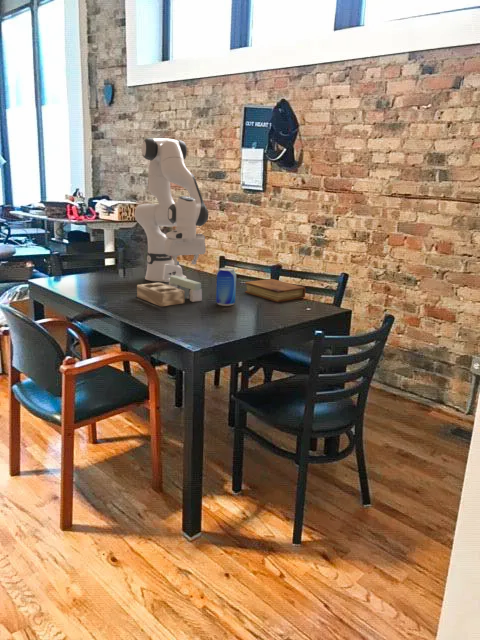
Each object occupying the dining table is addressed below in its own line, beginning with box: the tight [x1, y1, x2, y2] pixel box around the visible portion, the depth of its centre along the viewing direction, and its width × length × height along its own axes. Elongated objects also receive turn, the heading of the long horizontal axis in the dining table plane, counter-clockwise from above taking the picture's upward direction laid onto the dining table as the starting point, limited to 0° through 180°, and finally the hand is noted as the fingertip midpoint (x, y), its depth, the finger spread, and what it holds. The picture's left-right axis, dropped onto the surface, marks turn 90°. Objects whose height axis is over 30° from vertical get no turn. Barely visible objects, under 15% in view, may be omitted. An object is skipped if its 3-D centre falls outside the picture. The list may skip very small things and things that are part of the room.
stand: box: [168, 282, 203, 303], centre depth 242 cm, size 5×20×6 cm, turn 40°
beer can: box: [215, 267, 237, 307], centre depth 231 cm, size 8×8×16 cm
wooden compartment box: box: [136, 281, 186, 307], centre depth 233 cm, size 12×20×6 cm, turn 40°
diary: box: [244, 278, 307, 303], centre depth 256 cm, size 23×19×6 cm
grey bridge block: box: [170, 275, 202, 301], centre depth 241 cm, size 4×20×8 cm, turn 40°
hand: (185, 264), depth 238 cm, fingers open, 8 cm apart
